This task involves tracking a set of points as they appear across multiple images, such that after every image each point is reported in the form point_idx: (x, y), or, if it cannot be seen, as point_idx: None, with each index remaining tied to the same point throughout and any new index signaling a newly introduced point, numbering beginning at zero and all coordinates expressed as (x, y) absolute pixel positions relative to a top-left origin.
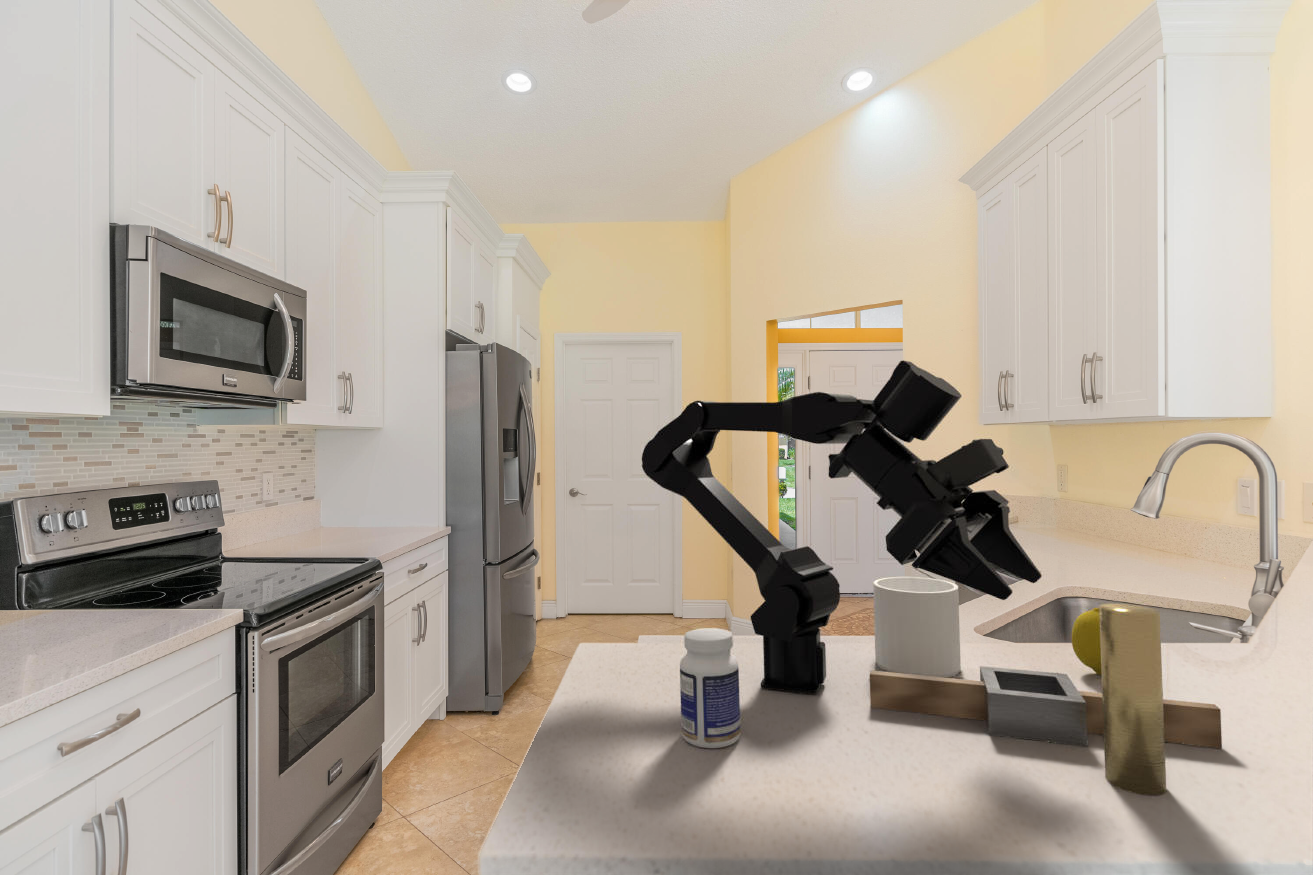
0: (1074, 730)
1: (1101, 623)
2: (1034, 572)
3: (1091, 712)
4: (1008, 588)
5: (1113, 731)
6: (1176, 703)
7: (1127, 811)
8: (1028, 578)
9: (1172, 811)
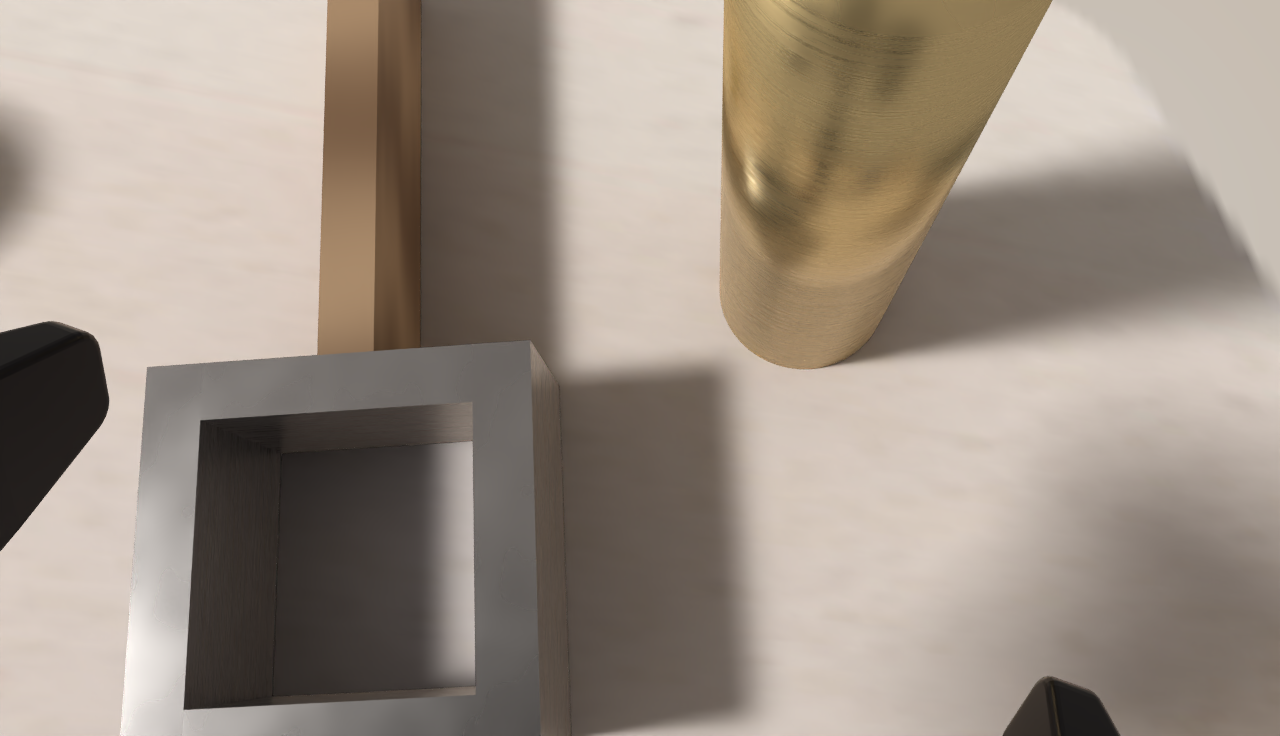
0: (551, 414)
1: (927, 92)
2: (52, 378)
3: (395, 328)
4: (1108, 721)
5: (887, 291)
6: (361, 27)
7: (1027, 347)
8: (65, 447)
9: (963, 229)
